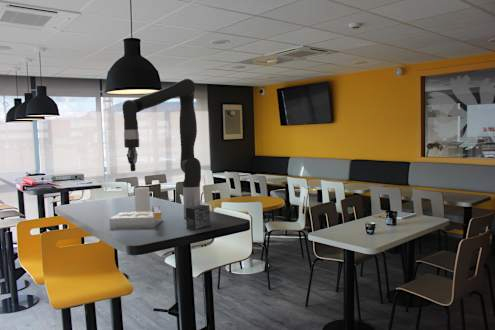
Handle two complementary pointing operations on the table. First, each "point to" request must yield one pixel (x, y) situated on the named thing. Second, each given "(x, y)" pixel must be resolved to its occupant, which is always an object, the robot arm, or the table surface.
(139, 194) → the cup
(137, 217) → the chassis
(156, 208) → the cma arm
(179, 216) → the table surface
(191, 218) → the small box
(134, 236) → the table surface
